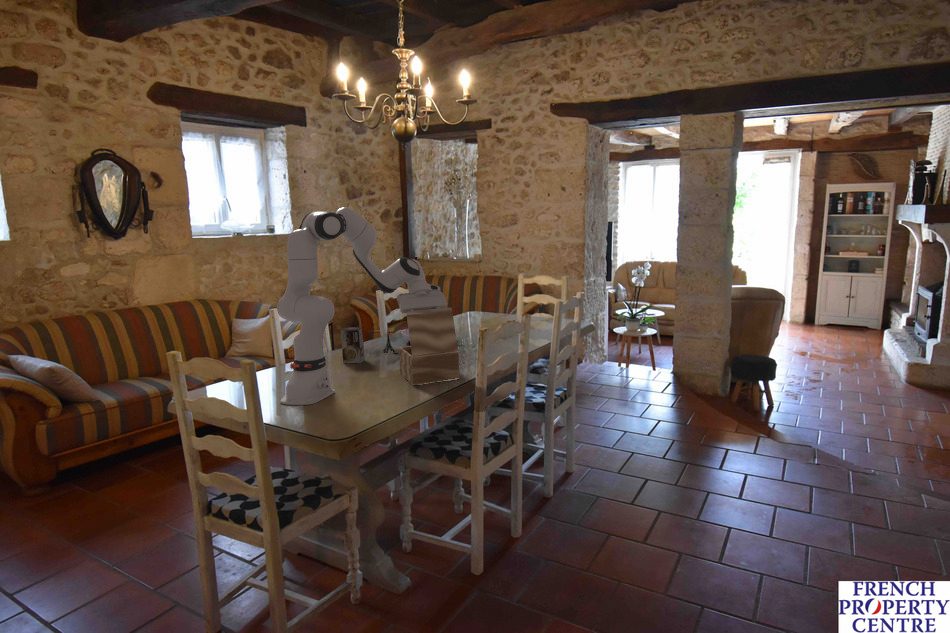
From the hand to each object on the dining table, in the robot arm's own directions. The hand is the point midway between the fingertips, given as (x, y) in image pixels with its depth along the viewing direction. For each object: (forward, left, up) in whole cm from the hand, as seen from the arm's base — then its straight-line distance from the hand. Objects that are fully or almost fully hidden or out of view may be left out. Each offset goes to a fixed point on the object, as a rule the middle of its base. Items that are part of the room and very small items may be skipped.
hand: (427, 318), depth 240 cm
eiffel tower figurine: (+44, +31, -26) cm, 60 cm away
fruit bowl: (+69, +16, -26) cm, 75 cm away
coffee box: (+25, +42, -26) cm, 55 cm away
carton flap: (-5, -3, -5) cm, 7 cm away
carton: (+1, 0, -26) cm, 26 cm away
